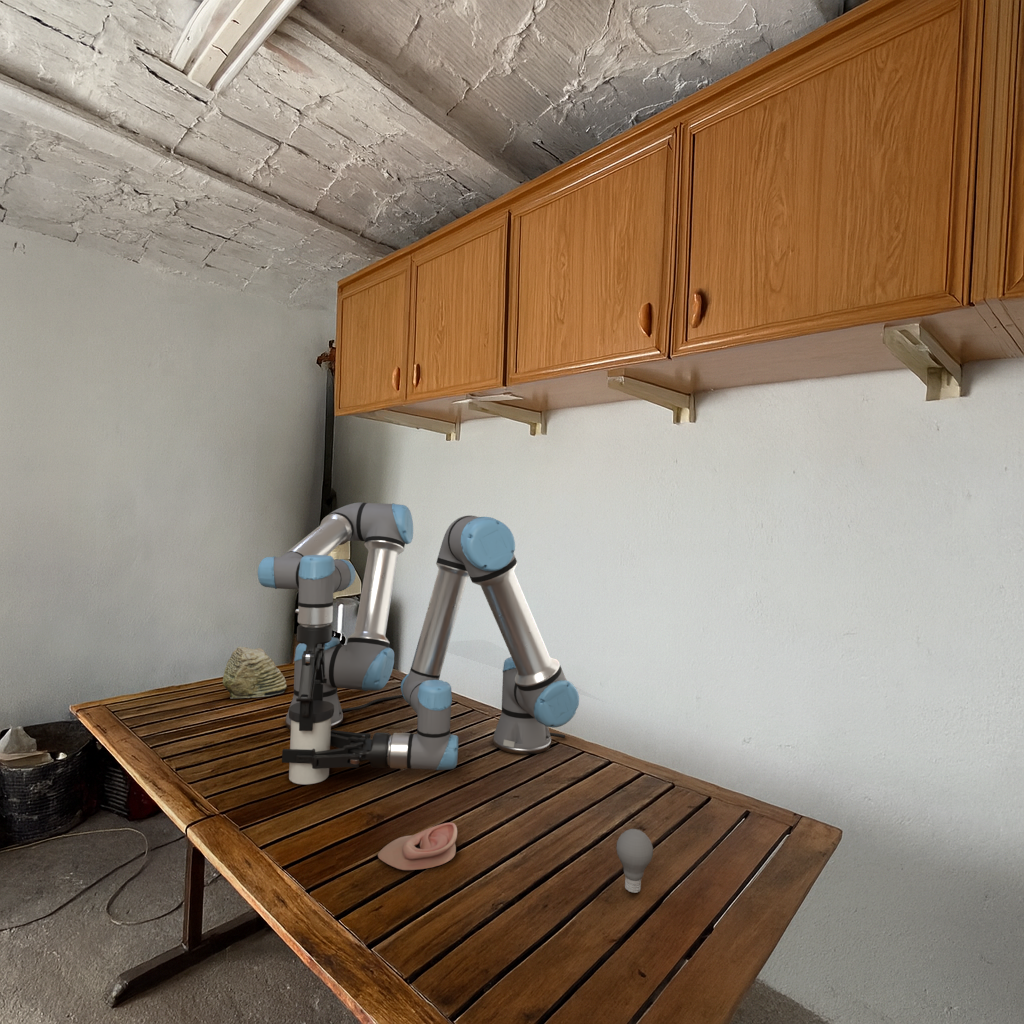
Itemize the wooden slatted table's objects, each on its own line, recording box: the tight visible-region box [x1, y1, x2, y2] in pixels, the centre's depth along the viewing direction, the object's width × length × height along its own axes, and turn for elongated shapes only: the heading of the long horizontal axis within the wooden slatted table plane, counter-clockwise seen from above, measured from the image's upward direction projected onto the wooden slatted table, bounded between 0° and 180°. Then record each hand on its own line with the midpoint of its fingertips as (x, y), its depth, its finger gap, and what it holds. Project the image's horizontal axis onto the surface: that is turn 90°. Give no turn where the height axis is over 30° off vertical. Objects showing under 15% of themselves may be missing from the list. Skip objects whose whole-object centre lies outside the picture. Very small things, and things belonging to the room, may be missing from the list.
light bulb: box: [615, 828, 654, 894], centre depth 106 cm, size 6×6×10 cm
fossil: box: [222, 646, 288, 699], centre depth 198 cm, size 9×18×15 cm, turn 132°
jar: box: [288, 718, 332, 785], centre depth 143 cm, size 9×9×15 cm
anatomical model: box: [377, 822, 458, 871], centre depth 114 cm, size 13×4×12 cm
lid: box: [288, 700, 334, 723], centre depth 143 cm, size 10×10×2 cm
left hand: (311, 720), depth 143 cm, fingers open, 11 cm apart
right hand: (289, 747), depth 143 cm, fingers closed on jar, 9 cm apart
